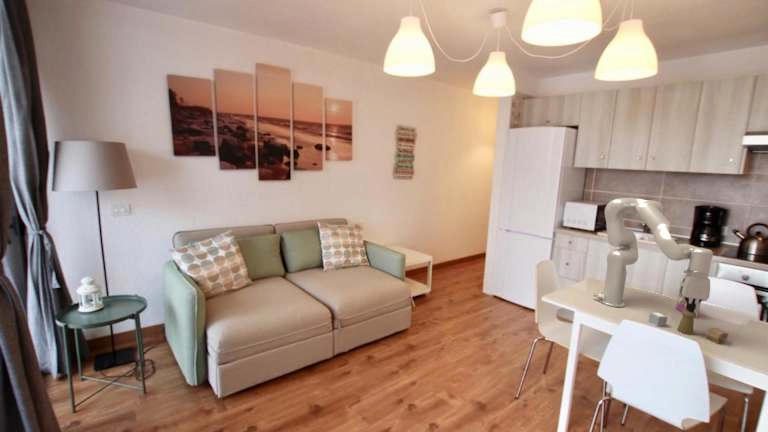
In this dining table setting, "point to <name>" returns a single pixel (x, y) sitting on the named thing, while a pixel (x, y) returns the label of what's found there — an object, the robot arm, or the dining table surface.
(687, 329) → the cork
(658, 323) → the slate grey block
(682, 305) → the candy bar box
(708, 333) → the light brown cube
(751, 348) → the dining table surface
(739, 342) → the dining table surface
